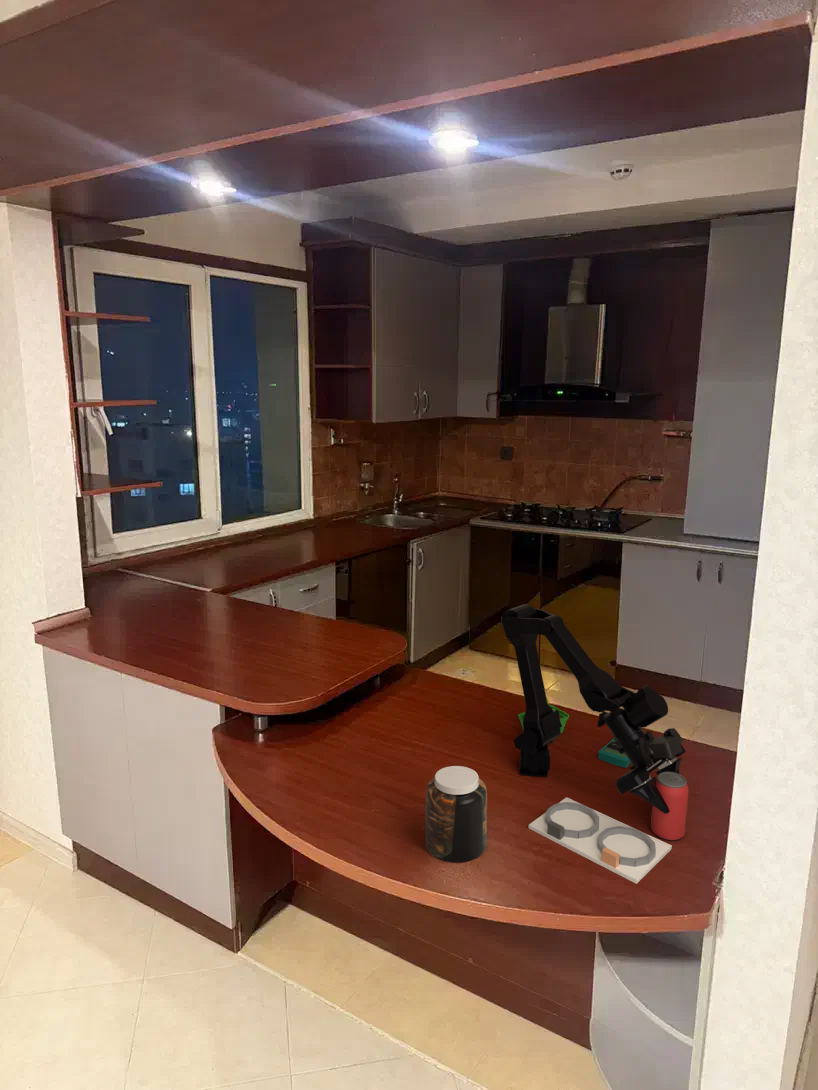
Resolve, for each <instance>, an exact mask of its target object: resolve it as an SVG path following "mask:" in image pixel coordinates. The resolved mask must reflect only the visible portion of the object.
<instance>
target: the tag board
mask: <svg viewBox="0 0 818 1090" xmlns="http://www.w3.org/2000/svg"><path fill="white" fill-rule="evenodd" d="M528 829H529V830H531V831H533V832H535V833H537V834H539V835H541V836H543V837H545V838H547V839H549V840H550V841H553V842H554V843H556V844H558V845H560V846H562V847H564V848H566V849H568V850H570V851H572V852H573V853H575V854H577V855H580V856H582V857H583V858H585V859H588V861H589V860H590V861H591V862H593V863H595V864H597V865H599V866H601V867H603V868H605V869H607V870H609V871H610V872H613V873H615V874H617V875H618V876H620V877H623V878H624V879H626V880H628V881H630V882H632V883H634V884H636V885H637V884H638V883H639V882H640V881H641V880H642V879H643V878H644V877H645V876H646V875H647V874H648V873H649V872H650V871H651V870H652V869H653V868H654V867H655V866H656V865H657V864H658V863H659V862H660V861H661V860H662V859H663V858H664V857H665V856H666V855H667V854H668V853H669V852H670V851H671V850H672V846H673V845H671V844H669V843H667V842H665V841H662V840H661V839H658V838H656V837H653V836H651V835H649V834H647V833H645V832H643V831H641V830H639V829H636V828H634V827H632V826H630V825H628V824H625V823H623V822H621V821H619V820H617V819H614V818H613V817H610V816H608V815H607V814H603V813H602V812H599V811H597V810H595V809H593V808H590V807H588V806H586V805H585V804H582V803H579V801H575V800H574V799H571V798H570V797H564V799H562V800H561V801H560V802H558V803H554V804H552V805H551V806H550V807H549V808H547V809H546V811H545V812H544V813H543V814H541V816H539V817H538V818H536V819H534V821H532V822H530V823H529V824H528Z"/></svg>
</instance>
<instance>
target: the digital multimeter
mask: <svg viewBox="0 0 818 1090" xmlns="http://www.w3.org/2000/svg"><path fill="white" fill-rule="evenodd" d="M619 743H620V742H619ZM619 743H618V741H617V740H616V738H615V737H614V738H612V739H611V740H610V741H609V742H608V743H607V744H605V746H603V747H602V748H600V749H599V750H598V753H597V754H598V755H597V759H599V761H600V760H601V761H603V762H605V763H608V764H612V765H614V766H617V767H620V768H623V769H625V768H626V769H627V768H628V767H629V765H631V764H632V763H631V761H630V760H629V758H628V757H627V755H626V754H625V752H624V753H622V754H620V752H619V751H618V749H620V748H622V747H621V746H620V744H619Z"/></svg>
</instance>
